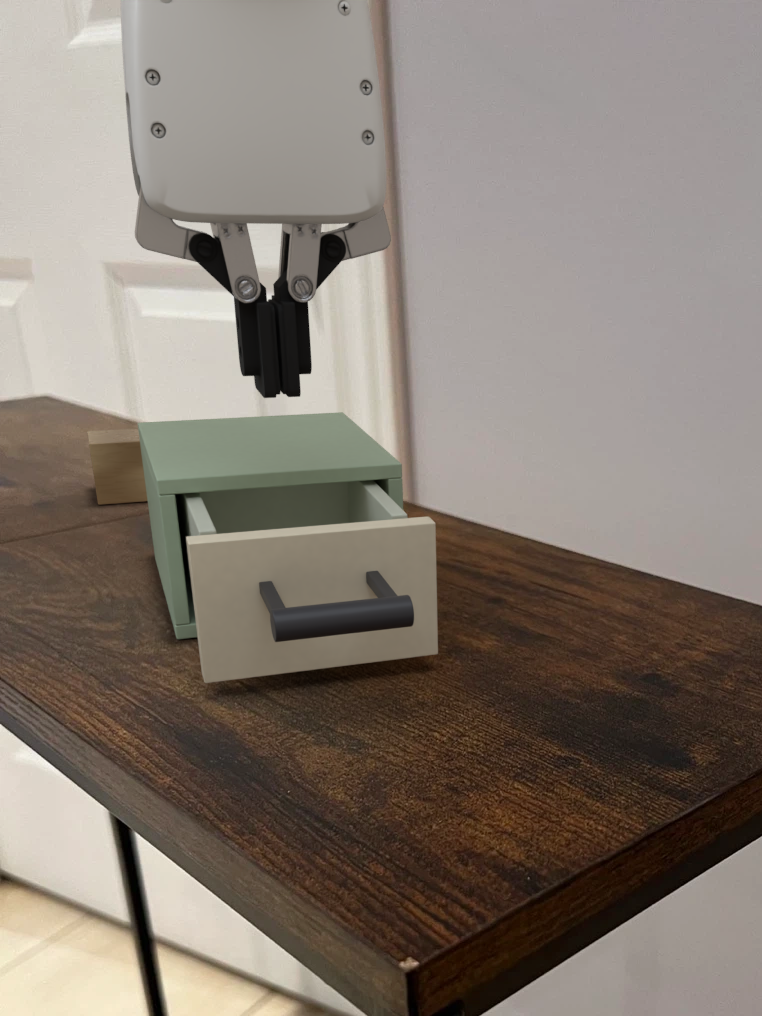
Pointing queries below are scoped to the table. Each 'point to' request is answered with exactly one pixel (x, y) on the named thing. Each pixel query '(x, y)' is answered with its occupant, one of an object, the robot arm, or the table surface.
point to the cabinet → (246, 475)
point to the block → (117, 466)
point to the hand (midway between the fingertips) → (277, 391)
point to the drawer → (307, 578)
